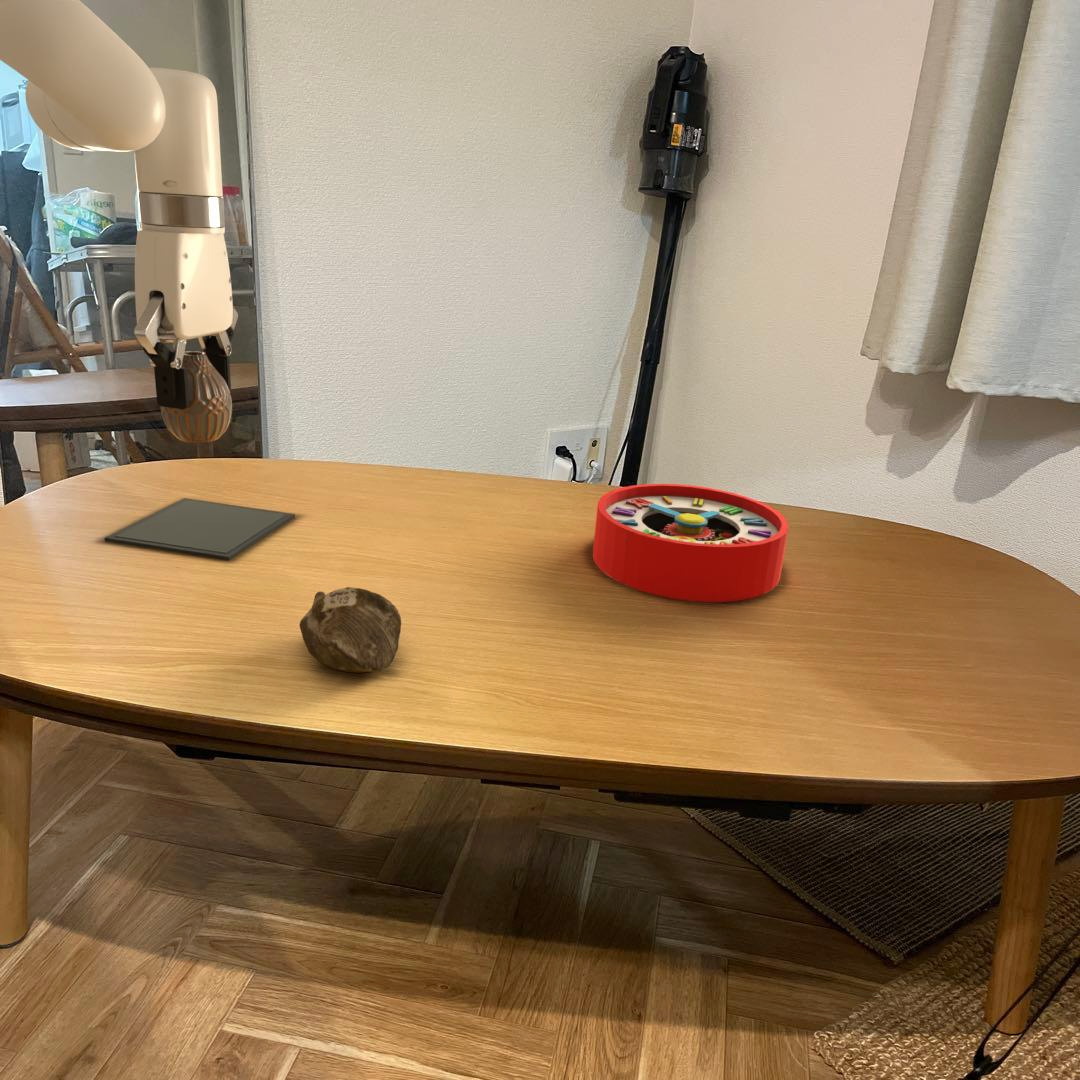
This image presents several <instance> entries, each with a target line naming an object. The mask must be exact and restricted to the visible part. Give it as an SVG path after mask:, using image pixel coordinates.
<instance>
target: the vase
mask: <svg viewBox="0 0 1080 1080" xmlns="http://www.w3.org/2000/svg"><path fill="white" fill-rule="evenodd" d="M181 367H183V368H187V379H188V393H189V407H188V408H186V409H178V408H169V407H161V406H159V408H160V413H161V417H162V420H163V422H164V425H165V427H166V428H167V429H168V431H169V432H170V433H171V434H172V435H173V436H174V437H175V438H176V439H178V440H179V441H181V442H185V443H192V444H193V443H195V444H196V443H199V444H201V443H210V442H214V441H217V440H219V439H220V438H221V437H222V436H223V434H225V433H226V431H227V429H228V428H229V426H230V424H231V420H232V416H233V415H232V414H233V401H232V395H231V393H230V391H229V388H228V386H227V384H226V382H225V380H224V379H223V377H222V376H221V375H220V374H219V372H218V371H217V370H216V369H215V368H214V367H213V366H212V364H211V363H210V361H209V360H208V358H207V356H206V353H204V352H203V351H195V350H194V351H193V350H192V351H190V350H189V351H185V352H184V357H183V361H182V366H181Z"/></svg>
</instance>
